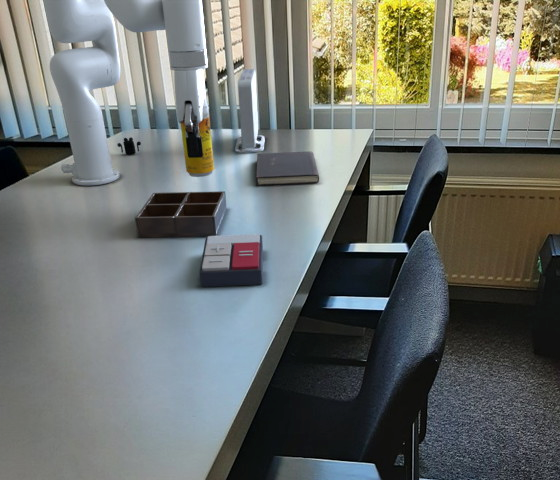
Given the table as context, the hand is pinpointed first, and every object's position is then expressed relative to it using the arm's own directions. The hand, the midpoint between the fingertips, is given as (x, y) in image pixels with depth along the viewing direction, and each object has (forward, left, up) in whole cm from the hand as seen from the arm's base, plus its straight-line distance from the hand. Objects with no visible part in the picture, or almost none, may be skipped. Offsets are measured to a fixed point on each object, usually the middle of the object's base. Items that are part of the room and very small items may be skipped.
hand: (198, 152), depth 133 cm
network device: (+4, +65, -14) cm, 67 cm away
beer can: (0, 0, -5) cm, 5 cm away
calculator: (+10, -29, -14) cm, 34 cm away
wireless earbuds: (-32, +56, -14) cm, 66 cm away
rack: (-4, -4, -14) cm, 15 cm away
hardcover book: (+17, +34, -14) cm, 41 cm away
